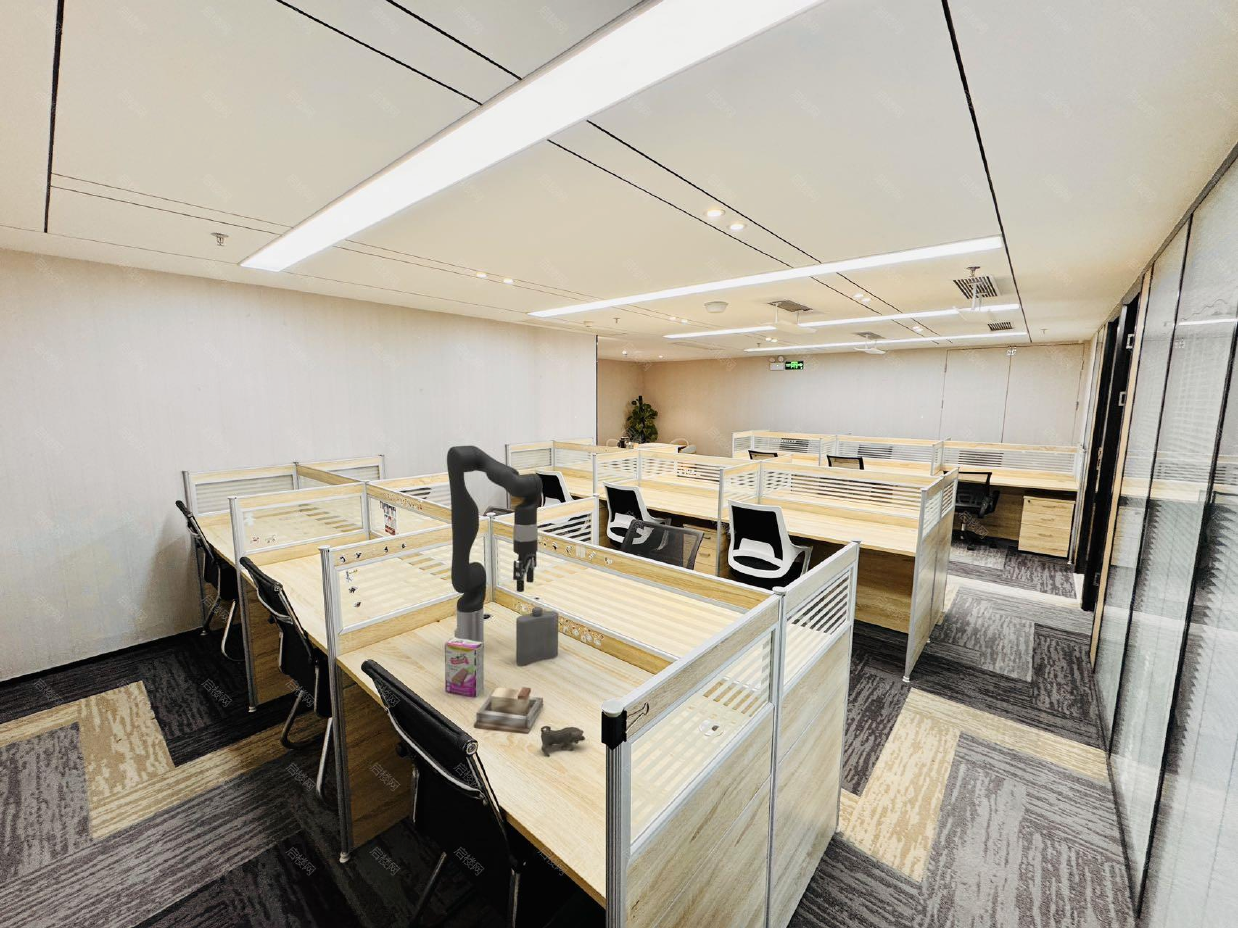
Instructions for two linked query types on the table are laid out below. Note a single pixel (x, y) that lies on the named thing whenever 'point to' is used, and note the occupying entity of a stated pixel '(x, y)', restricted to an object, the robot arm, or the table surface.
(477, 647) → the candy bar box
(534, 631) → the flask
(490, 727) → the tray
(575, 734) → the dog figurine
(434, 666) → the table surface
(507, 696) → the fuselage block
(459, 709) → the table surface
